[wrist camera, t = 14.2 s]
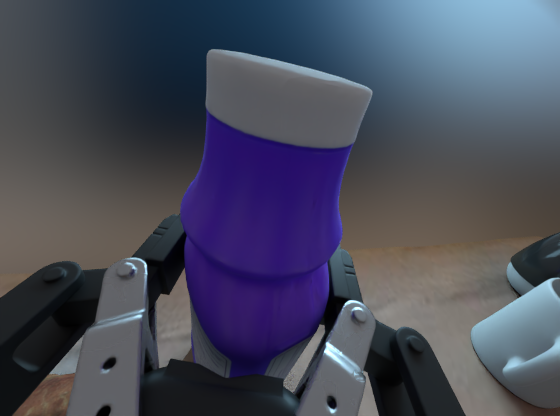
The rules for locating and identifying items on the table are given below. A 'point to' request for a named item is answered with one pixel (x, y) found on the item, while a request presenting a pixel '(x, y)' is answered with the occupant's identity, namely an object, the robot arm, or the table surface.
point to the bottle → (265, 210)
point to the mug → (525, 345)
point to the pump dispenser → (535, 264)
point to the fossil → (48, 397)
